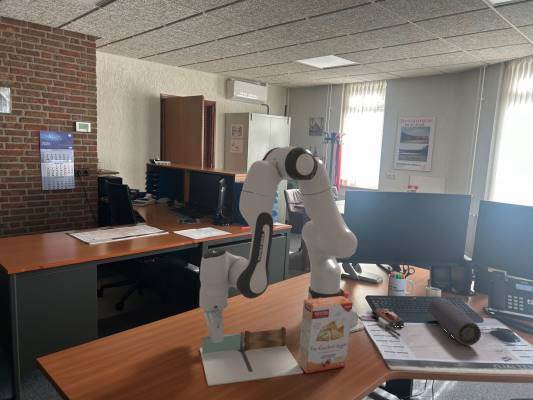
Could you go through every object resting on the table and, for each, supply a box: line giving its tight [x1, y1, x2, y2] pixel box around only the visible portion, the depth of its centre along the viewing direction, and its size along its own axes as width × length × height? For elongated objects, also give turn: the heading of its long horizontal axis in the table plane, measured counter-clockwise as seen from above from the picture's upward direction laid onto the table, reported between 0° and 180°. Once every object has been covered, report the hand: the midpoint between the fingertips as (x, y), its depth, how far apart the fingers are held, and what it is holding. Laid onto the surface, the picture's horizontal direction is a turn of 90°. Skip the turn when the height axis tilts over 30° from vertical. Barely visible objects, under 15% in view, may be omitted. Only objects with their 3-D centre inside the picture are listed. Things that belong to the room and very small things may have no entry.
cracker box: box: [297, 296, 353, 375], centre depth 116 cm, size 14×6×21 cm, turn 114°
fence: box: [243, 326, 287, 351], centre depth 127 cm, size 14×2×6 cm, turn 106°
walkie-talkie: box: [371, 307, 405, 337], centre depth 148 cm, size 9×4×20 cm
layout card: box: [199, 342, 304, 387], centre depth 119 cm, size 28×20×1 cm
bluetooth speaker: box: [428, 296, 482, 346], centre depth 143 cm, size 23×9×10 cm, turn 0°
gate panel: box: [201, 331, 245, 354], centre depth 123 cm, size 13×1×6 cm, turn 107°
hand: (212, 341), depth 124 cm, fingers closed
